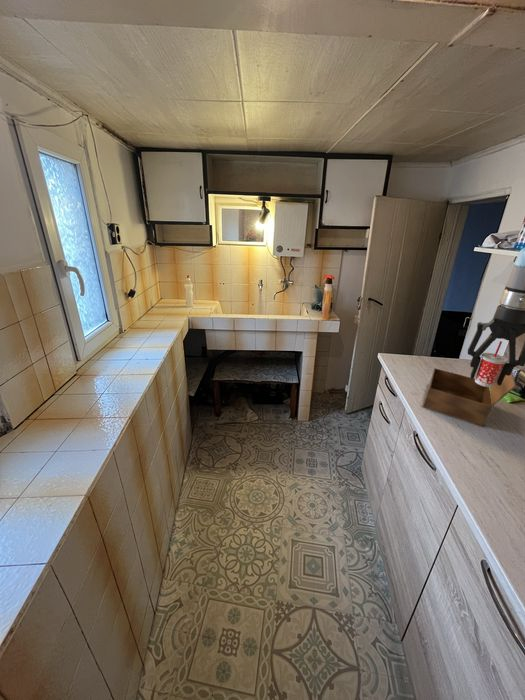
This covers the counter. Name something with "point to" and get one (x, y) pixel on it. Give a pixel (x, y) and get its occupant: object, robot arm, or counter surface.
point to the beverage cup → (490, 368)
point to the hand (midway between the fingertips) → (485, 379)
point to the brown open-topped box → (458, 397)
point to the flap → (502, 388)
